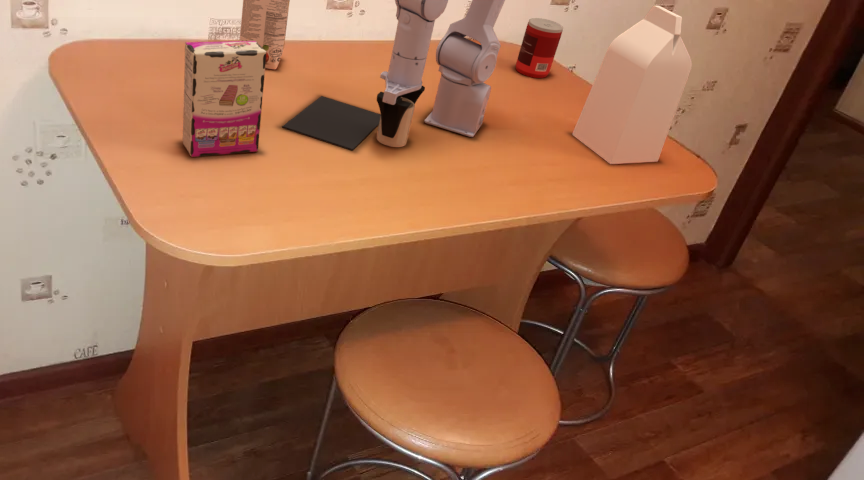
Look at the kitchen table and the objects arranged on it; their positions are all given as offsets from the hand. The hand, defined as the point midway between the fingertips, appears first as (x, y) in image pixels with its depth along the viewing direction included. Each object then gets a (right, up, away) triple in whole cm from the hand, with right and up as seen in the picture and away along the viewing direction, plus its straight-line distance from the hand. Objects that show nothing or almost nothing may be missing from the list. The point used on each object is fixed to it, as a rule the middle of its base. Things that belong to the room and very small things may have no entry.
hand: (393, 130), depth 136 cm
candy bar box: (-28, -5, -12) cm, 31 cm away
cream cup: (0, -2, +1) cm, 2 cm away
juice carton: (-25, +17, +21) cm, 37 cm away
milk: (+43, -1, +15) cm, 45 cm away
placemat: (-10, +2, +3) cm, 11 cm away
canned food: (+33, +22, +43) cm, 59 cm away
